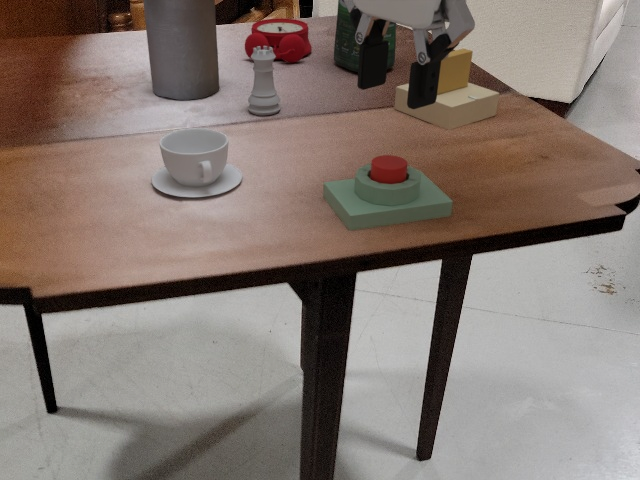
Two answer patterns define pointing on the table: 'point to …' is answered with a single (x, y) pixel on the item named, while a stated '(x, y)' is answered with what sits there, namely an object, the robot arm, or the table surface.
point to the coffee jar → (347, 45)
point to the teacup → (195, 164)
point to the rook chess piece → (263, 84)
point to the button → (388, 169)
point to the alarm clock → (280, 38)
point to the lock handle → (455, 71)
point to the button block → (385, 200)
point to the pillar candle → (182, 47)
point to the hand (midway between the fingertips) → (395, 93)
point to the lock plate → (452, 106)
